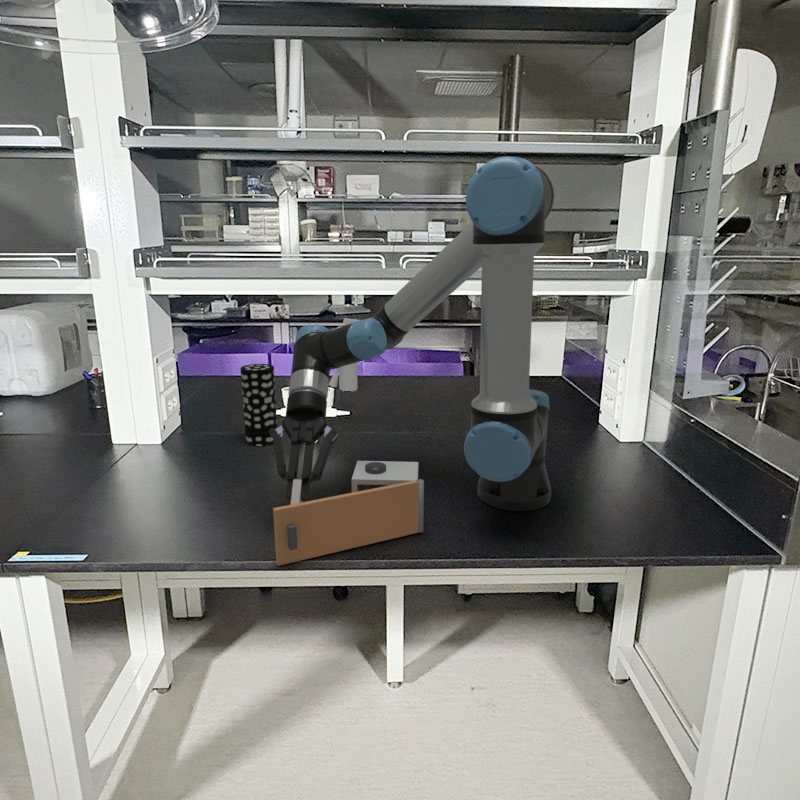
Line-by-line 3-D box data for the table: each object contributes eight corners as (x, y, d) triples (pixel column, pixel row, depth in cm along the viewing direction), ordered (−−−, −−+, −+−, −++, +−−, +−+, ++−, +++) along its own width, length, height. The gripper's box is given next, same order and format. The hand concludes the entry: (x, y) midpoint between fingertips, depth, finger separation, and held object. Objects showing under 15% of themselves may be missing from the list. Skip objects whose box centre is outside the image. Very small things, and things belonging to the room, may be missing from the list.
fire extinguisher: (330, 385, 210) (330, 316, 203) (363, 387, 210) (364, 317, 202) (326, 391, 204) (326, 319, 196) (361, 392, 203) (362, 321, 196)
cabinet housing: (417, 508, 118) (418, 458, 115) (416, 530, 109) (417, 476, 106) (358, 506, 119) (357, 456, 116) (352, 528, 110) (351, 475, 107)
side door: (421, 528, 109) (421, 478, 107) (427, 534, 107) (427, 483, 104) (276, 562, 98) (272, 507, 95) (279, 569, 96) (276, 513, 93)
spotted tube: (280, 435, 160) (276, 363, 154) (275, 446, 152) (270, 371, 146) (249, 436, 159) (244, 363, 154) (242, 446, 151) (237, 371, 146)
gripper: (343, 407, 117) (335, 524, 105) (278, 407, 117) (262, 523, 106) (339, 388, 110) (329, 510, 99) (269, 388, 111) (252, 510, 99)
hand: (295, 517), depth 102 cm, fingers closed
